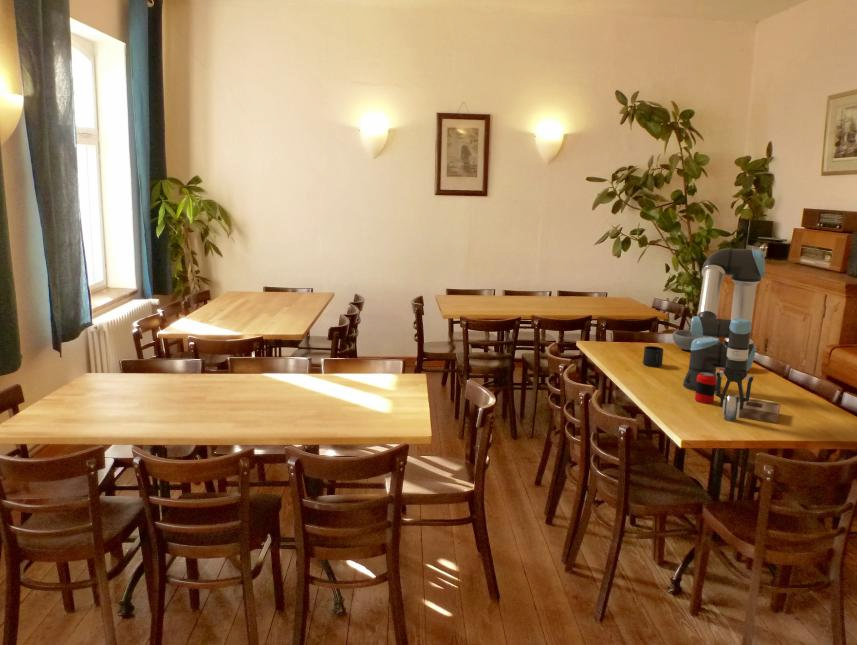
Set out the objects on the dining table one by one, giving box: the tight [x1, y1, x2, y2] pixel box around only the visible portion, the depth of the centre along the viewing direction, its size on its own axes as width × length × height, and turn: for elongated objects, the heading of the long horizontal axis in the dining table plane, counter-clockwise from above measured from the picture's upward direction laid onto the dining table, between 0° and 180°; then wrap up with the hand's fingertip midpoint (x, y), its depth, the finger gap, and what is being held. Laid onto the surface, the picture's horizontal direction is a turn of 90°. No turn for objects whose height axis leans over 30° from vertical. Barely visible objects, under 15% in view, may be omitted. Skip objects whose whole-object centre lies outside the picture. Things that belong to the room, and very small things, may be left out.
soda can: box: [694, 372, 716, 404], centre depth 284 cm, size 8×8×12 cm
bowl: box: [672, 329, 716, 352], centre depth 379 cm, size 23×22×10 cm
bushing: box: [723, 393, 739, 422], centre depth 261 cm, size 4×4×10 cm
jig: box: [738, 395, 781, 424], centre depth 268 cm, size 18×14×5 cm
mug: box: [642, 345, 664, 368], centre depth 342 cm, size 9×12×9 cm
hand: (730, 415), depth 261 cm, fingers open, 4 cm apart
